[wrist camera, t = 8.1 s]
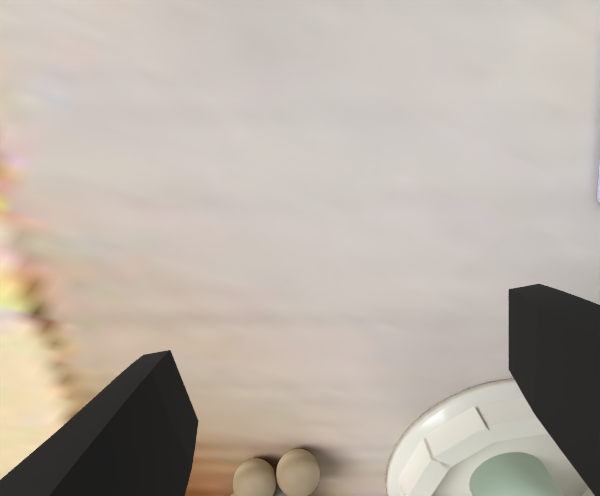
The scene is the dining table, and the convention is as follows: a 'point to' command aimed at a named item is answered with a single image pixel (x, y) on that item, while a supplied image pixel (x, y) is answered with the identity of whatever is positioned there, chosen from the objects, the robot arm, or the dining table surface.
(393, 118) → the dining table surface
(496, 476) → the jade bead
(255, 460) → the bead pile
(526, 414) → the round bowl
